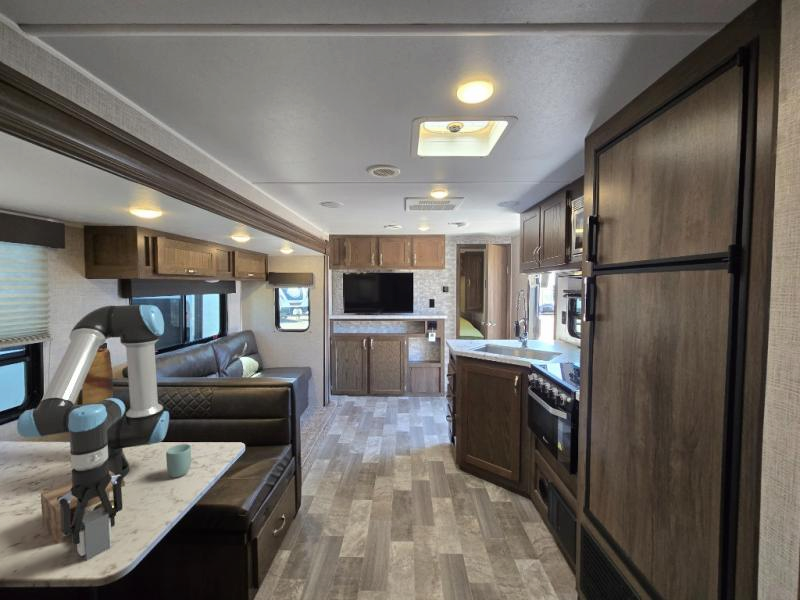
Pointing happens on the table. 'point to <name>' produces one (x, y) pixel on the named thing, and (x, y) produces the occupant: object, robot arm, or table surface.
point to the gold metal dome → (102, 505)
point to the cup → (178, 460)
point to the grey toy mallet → (95, 532)
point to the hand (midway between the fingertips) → (94, 545)
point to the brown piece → (52, 507)
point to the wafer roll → (98, 379)
